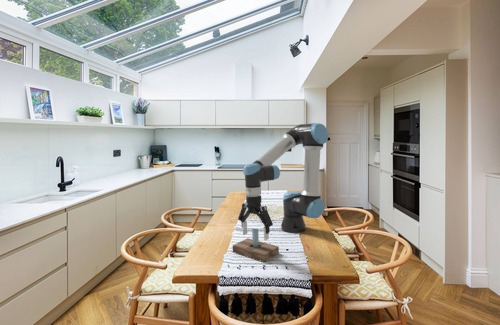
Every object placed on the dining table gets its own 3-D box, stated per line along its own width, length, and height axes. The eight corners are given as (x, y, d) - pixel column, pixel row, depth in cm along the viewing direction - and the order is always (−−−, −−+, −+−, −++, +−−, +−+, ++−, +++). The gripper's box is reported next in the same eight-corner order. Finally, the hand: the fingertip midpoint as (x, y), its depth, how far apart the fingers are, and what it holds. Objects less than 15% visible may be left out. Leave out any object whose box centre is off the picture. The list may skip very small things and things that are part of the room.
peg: (255, 251, 141) (254, 228, 140) (260, 252, 139) (259, 229, 138) (251, 253, 139) (250, 229, 138) (256, 254, 137) (255, 230, 136)
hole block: (247, 244, 150) (247, 238, 150) (278, 253, 137) (278, 246, 137) (232, 252, 141) (232, 245, 141) (264, 262, 128) (264, 255, 128)
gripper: (229, 194, 142) (232, 234, 144) (269, 199, 126) (271, 244, 128) (239, 191, 147) (241, 230, 149) (278, 196, 131) (280, 239, 134)
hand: (255, 236), depth 139 cm, fingers open, 13 cm apart
